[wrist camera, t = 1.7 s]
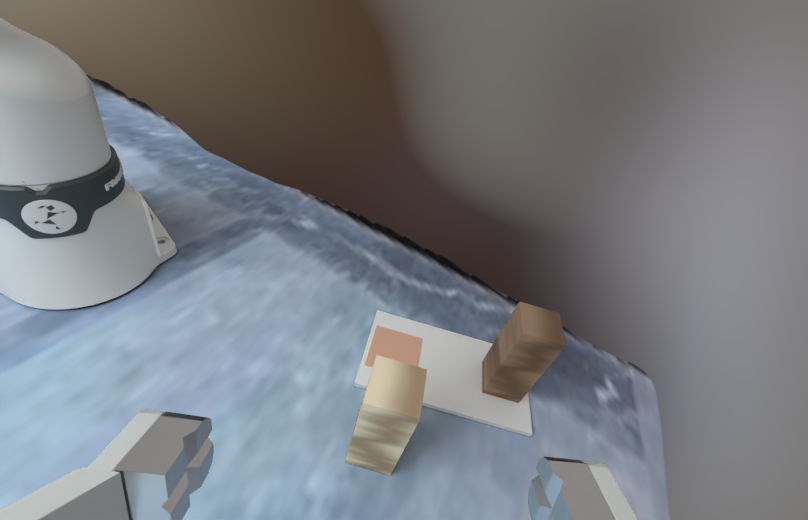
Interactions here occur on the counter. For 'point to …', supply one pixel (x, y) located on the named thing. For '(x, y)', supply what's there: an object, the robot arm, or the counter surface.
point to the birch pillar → (387, 415)
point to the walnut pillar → (522, 352)
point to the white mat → (443, 371)
